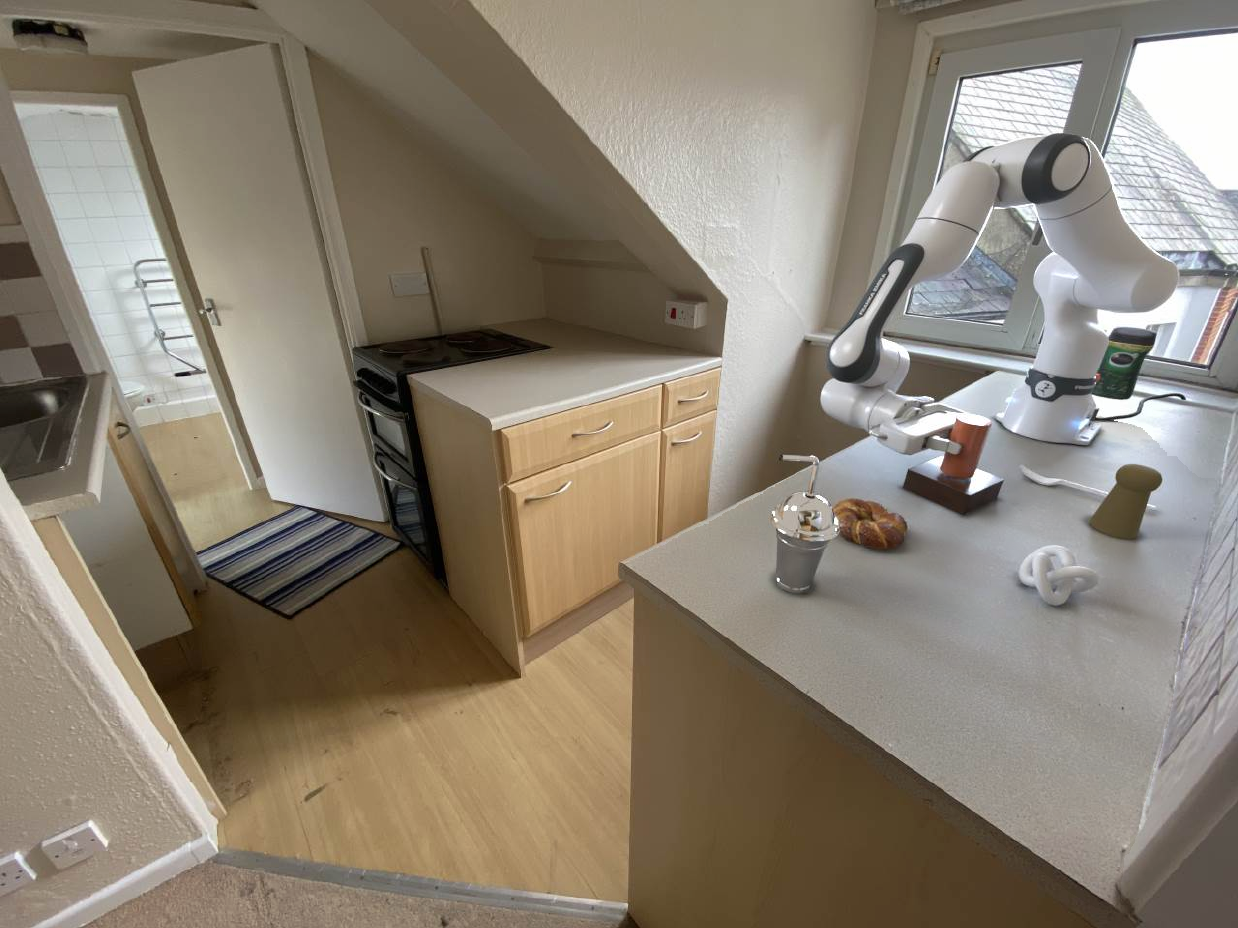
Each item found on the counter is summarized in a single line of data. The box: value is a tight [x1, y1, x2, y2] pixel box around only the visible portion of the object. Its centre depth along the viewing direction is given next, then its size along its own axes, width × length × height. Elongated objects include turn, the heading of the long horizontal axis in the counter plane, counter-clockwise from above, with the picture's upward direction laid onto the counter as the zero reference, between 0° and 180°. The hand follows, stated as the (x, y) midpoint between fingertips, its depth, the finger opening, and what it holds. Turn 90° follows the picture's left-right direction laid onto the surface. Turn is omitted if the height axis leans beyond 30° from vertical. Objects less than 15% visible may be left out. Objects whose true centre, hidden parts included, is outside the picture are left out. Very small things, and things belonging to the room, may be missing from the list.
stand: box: [902, 455, 1005, 516], centre depth 94 cm, size 11×11×4 cm
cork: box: [1088, 463, 1163, 540], centre depth 83 cm, size 6×6×11 cm
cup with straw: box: [770, 454, 840, 595], centre depth 68 cm, size 8×9×20 cm
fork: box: [1018, 463, 1157, 511], centre depth 96 cm, size 3×20×2 cm, turn 48°
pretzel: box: [832, 497, 908, 550], centre depth 83 cm, size 12×11×4 cm
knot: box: [1018, 544, 1100, 607], centre depth 70 cm, size 8×8×6 cm
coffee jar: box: [1091, 326, 1157, 401], centre depth 142 cm, size 10×8×19 cm
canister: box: [940, 413, 993, 479], centre depth 91 cm, size 5×5×10 cm
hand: (971, 445), depth 90 cm, fingers closed on canister, 5 cm apart
